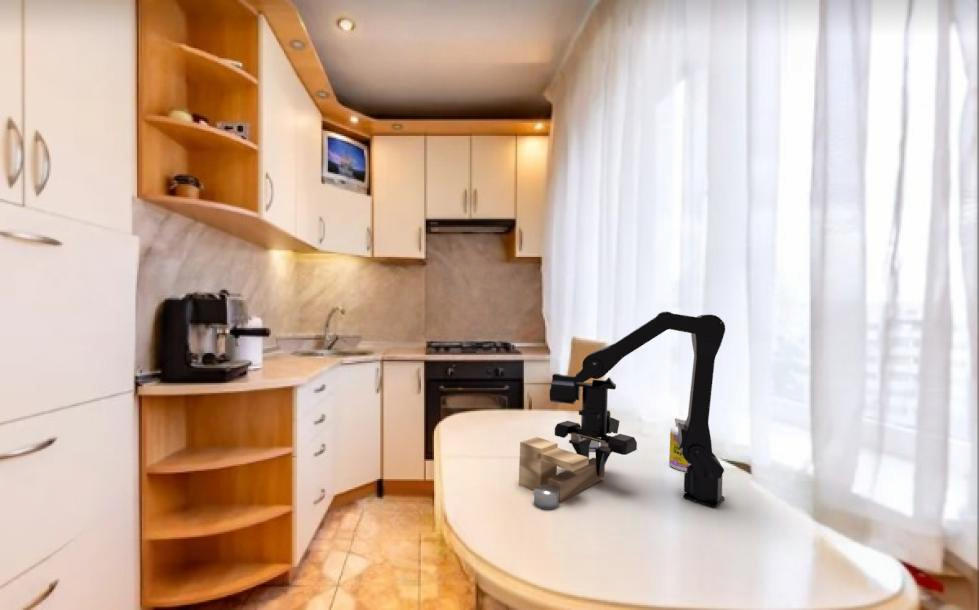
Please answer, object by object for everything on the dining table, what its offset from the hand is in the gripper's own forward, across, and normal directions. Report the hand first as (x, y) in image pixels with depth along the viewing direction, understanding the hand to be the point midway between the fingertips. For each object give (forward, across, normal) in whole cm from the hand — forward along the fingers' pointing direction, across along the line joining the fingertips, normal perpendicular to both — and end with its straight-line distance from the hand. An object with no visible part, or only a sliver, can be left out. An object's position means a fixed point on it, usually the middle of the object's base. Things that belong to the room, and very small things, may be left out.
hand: (592, 473), depth 97 cm
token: (+2, 0, +18) cm, 18 cm away
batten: (+2, 0, +6) cm, 6 cm away
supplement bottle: (+2, -11, -26) cm, 29 cm away
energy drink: (+2, +13, -20) cm, 24 cm away
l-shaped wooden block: (+2, +3, +12) cm, 12 cm away
